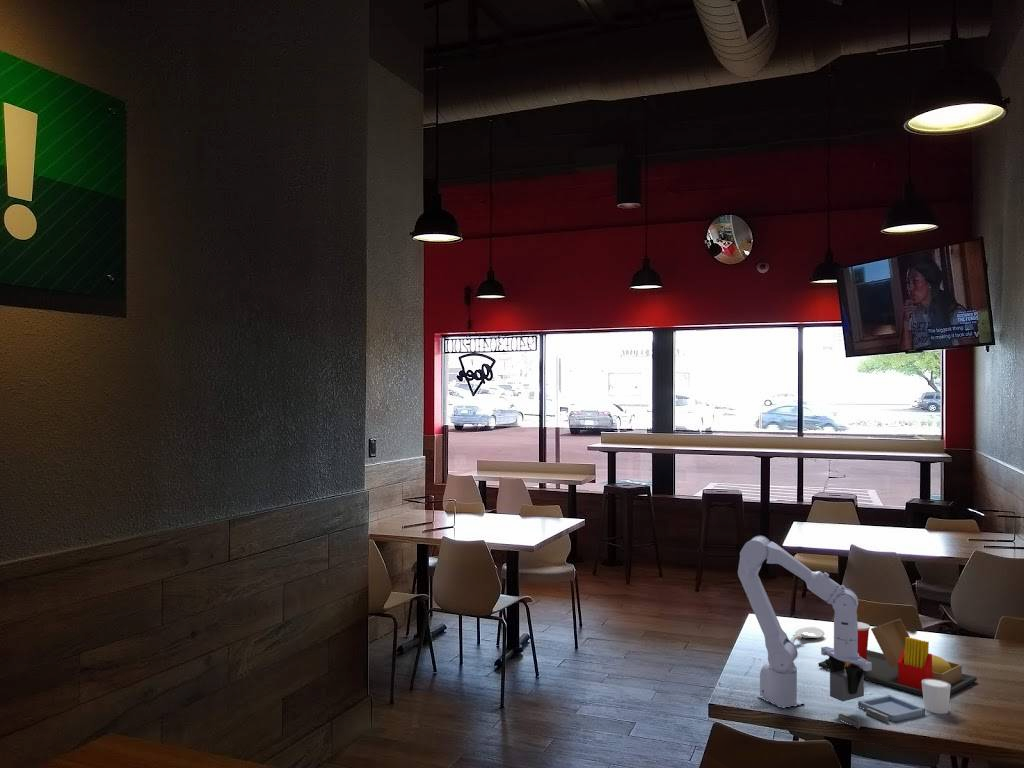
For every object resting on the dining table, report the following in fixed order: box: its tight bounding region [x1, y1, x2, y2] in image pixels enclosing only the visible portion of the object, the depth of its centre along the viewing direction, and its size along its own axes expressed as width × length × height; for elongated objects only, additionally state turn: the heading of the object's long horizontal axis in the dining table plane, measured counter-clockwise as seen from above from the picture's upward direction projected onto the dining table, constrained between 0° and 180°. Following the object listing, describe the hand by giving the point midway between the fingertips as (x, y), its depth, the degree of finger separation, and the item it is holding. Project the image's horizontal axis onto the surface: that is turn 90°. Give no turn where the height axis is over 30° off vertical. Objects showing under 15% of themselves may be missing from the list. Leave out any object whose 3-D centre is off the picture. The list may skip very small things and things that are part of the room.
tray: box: [857, 694, 926, 723], centre depth 205 cm, size 11×12×2 cm
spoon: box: [789, 626, 825, 650], centre depth 263 cm, size 9×32×4 cm, turn 139°
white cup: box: [922, 679, 951, 715], centre depth 206 cm, size 7×7×7 cm
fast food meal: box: [818, 618, 978, 697], centre depth 233 cm, size 26×35×18 cm
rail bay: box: [837, 708, 890, 730], centre depth 198 cm, size 6×11×2 cm, turn 115°
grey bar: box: [829, 670, 865, 702], centre depth 203 cm, size 4×8×6 cm, turn 118°
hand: (845, 690), depth 203 cm, fingers closed on grey bar, 4 cm apart
